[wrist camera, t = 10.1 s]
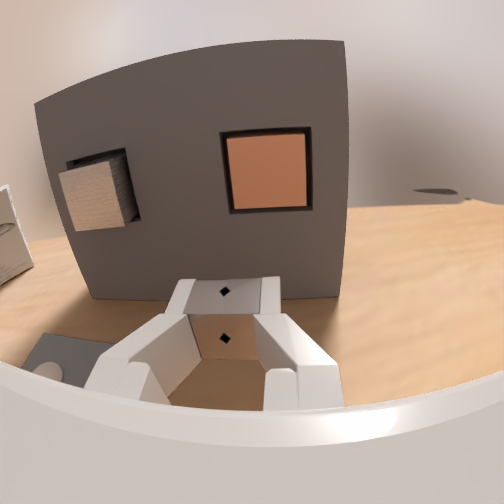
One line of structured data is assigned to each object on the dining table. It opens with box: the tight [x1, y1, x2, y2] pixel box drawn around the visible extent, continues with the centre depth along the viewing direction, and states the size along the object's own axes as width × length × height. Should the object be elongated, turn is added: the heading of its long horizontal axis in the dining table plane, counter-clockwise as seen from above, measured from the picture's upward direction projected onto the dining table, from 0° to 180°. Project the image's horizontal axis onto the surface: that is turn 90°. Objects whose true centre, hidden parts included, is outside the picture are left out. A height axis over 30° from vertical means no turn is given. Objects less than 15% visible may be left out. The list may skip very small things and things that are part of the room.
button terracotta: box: [227, 129, 306, 209], centre depth 20 cm, size 3×5×5 cm, turn 87°
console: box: [34, 40, 349, 301], centre depth 23 cm, size 6×24×20 cm, turn 86°
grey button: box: [58, 152, 139, 231], centre depth 20 cm, size 3×5×5 cm, turn 86°
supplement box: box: [0, 184, 34, 286], centre depth 30 cm, size 7×7×13 cm
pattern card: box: [21, 333, 115, 388], centre depth 16 cm, size 10×14×1 cm
